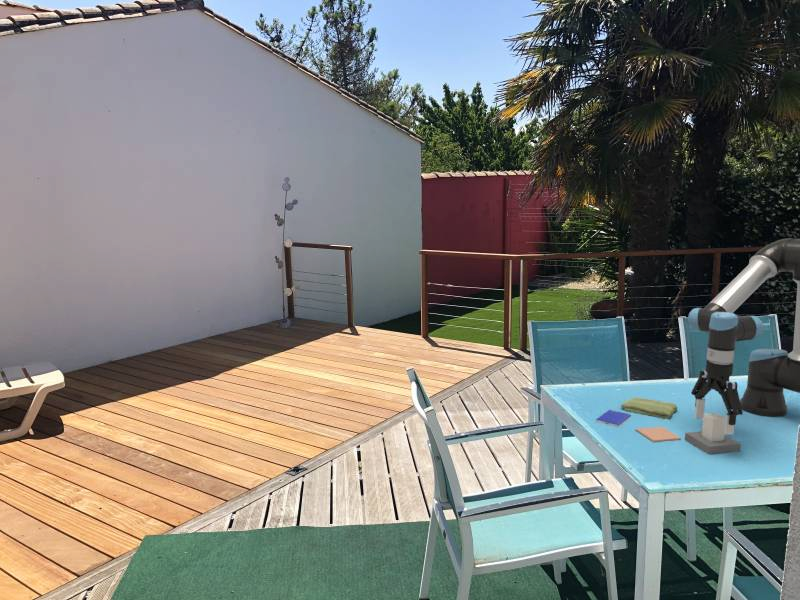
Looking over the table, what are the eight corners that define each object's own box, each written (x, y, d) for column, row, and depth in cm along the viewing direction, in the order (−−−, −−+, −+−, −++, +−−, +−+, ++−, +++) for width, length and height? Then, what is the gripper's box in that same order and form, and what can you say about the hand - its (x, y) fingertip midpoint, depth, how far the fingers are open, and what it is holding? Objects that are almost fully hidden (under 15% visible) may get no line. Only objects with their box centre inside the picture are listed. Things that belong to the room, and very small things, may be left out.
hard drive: (609, 409, 222) (595, 418, 212) (631, 414, 216) (618, 424, 207) (608, 413, 222) (595, 423, 213) (630, 418, 217) (618, 428, 207)
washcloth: (629, 401, 234) (630, 393, 234) (678, 411, 224) (678, 403, 223) (619, 411, 224) (620, 403, 223) (669, 421, 213) (670, 413, 213)
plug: (713, 442, 195) (715, 413, 193) (723, 447, 190) (725, 418, 188) (700, 443, 194) (703, 414, 192) (710, 449, 189) (713, 419, 188)
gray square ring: (715, 437, 198) (715, 430, 198) (740, 451, 188) (741, 443, 187) (684, 439, 196) (685, 432, 196) (708, 454, 185) (709, 446, 185)
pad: (661, 428, 206) (662, 426, 206) (680, 439, 196) (680, 438, 196) (635, 430, 204) (635, 428, 204) (653, 442, 195) (653, 440, 195)
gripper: (683, 352, 198) (678, 412, 202) (738, 373, 174) (731, 442, 178) (703, 351, 200) (697, 411, 203) (760, 372, 176) (753, 440, 179)
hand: (713, 425), depth 191 cm, fingers open, 13 cm apart
